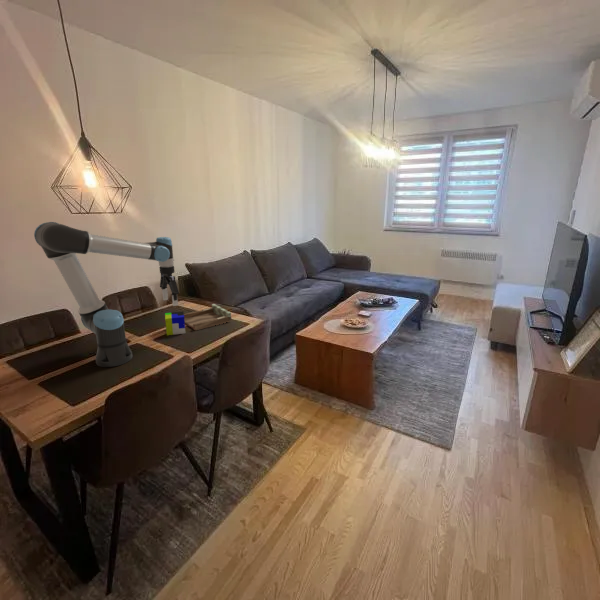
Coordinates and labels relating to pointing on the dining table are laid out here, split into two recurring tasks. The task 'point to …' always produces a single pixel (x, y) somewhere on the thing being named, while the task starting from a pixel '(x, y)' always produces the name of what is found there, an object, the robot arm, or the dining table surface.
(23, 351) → the dining table surface
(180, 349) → the dining table surface
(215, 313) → the board
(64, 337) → the dining table surface
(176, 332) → the puzzle toy
